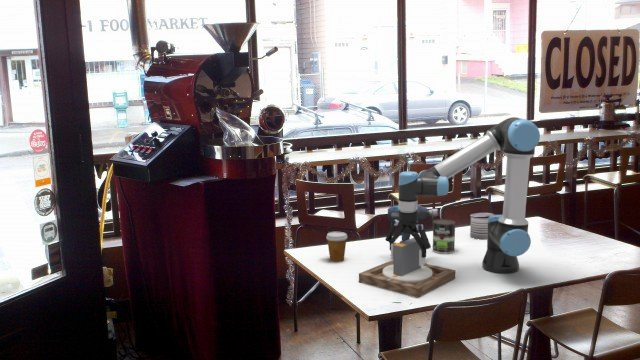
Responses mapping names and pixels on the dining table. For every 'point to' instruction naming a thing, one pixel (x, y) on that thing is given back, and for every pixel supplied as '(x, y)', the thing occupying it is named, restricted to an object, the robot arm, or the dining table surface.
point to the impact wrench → (421, 214)
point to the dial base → (415, 290)
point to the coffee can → (443, 236)
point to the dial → (407, 264)
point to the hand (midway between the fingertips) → (407, 261)
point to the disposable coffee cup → (336, 245)
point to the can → (479, 225)
